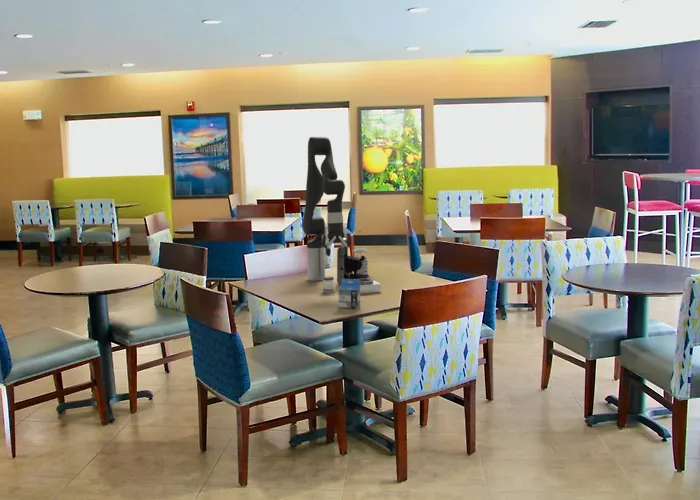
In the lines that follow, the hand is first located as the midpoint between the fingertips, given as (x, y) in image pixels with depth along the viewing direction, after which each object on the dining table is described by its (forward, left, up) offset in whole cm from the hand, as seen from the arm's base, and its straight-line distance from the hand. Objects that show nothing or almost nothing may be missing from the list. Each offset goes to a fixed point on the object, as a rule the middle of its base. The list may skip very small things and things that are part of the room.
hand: (336, 255), depth 340 cm
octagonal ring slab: (+6, +12, -18) cm, 22 cm away
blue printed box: (+37, -4, -18) cm, 41 cm away
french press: (-34, +22, -18) cm, 44 cm away
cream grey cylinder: (0, -4, -18) cm, 18 cm away
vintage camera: (-15, +13, -18) cm, 27 cm away
